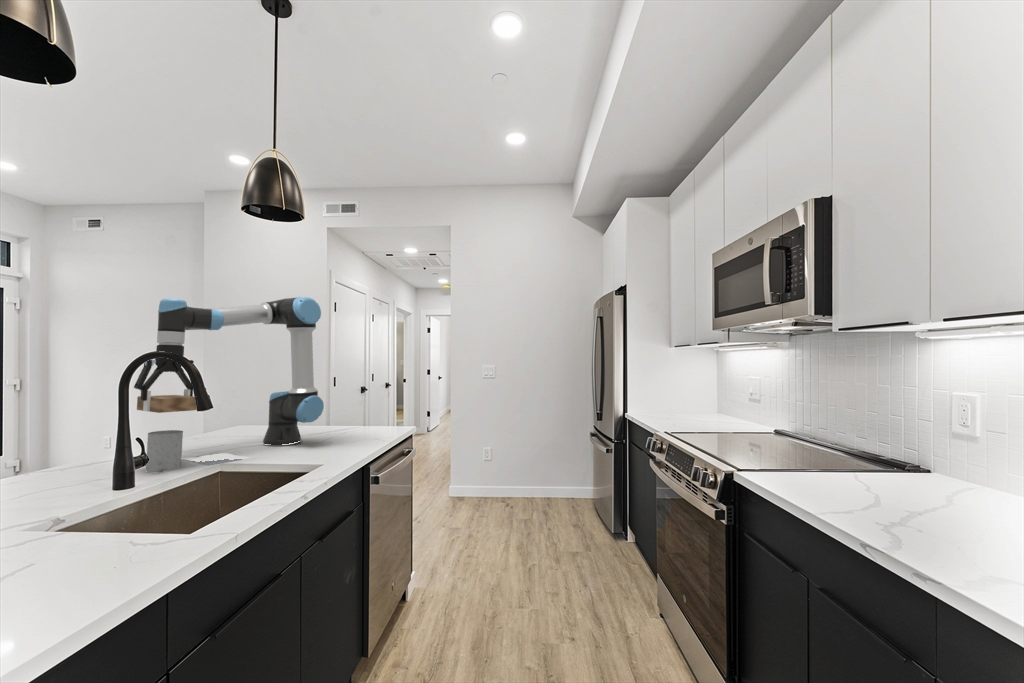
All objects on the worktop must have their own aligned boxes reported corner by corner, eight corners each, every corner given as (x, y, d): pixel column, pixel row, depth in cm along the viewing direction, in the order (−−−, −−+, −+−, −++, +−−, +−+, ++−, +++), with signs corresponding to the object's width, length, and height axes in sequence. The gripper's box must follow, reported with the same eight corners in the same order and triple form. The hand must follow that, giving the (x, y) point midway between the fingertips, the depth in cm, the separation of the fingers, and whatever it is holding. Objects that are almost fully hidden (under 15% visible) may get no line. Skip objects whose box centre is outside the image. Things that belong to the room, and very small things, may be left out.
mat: (223, 452, 182) (223, 451, 182) (253, 458, 172) (253, 457, 172) (178, 459, 168) (178, 458, 168) (208, 466, 158) (208, 465, 158)
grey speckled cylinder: (166, 472, 148) (168, 434, 149) (137, 472, 149) (139, 434, 149) (188, 466, 158) (190, 430, 159) (160, 465, 158) (162, 430, 159)
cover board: (173, 407, 163) (174, 394, 163) (196, 410, 155) (197, 396, 156) (136, 409, 153) (137, 396, 153) (159, 412, 146) (160, 398, 146)
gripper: (201, 346, 168) (198, 406, 166) (123, 342, 147) (119, 411, 146) (213, 346, 164) (210, 407, 163) (134, 342, 143) (130, 412, 142)
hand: (166, 409), depth 154 cm, fingers closed on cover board, 11 cm apart
